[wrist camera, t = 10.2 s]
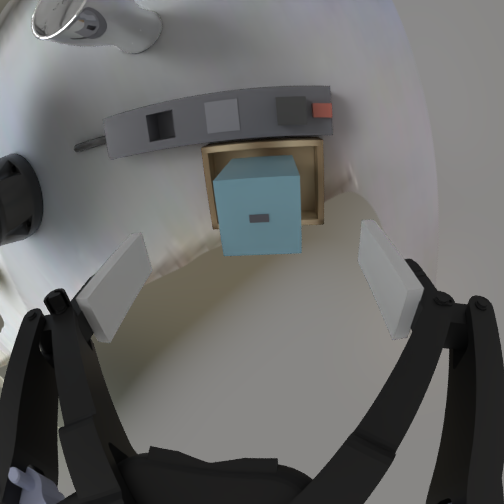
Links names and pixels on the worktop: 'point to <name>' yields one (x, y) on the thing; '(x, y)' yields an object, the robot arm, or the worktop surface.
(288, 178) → the block
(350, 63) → the worktop surface
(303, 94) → the power strip
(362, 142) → the worktop surface
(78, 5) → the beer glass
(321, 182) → the tray
